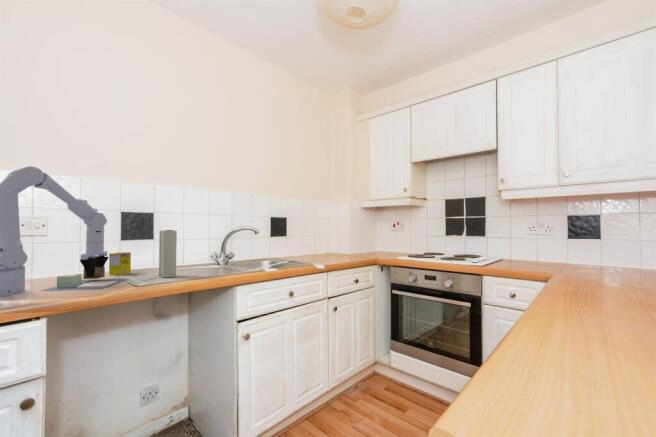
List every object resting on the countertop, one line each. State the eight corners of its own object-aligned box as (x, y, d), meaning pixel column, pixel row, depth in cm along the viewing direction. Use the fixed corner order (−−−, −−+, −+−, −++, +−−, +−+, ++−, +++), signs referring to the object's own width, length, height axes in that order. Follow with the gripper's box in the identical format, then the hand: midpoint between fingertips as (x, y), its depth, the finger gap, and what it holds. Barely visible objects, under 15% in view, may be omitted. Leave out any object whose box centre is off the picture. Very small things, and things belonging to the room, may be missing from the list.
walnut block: (97, 278, 119) (97, 268, 119) (83, 278, 118) (83, 268, 118) (104, 276, 124) (104, 266, 124) (91, 276, 123) (91, 267, 123)
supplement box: (130, 275, 140) (131, 252, 140) (120, 277, 134) (121, 253, 134) (119, 275, 141) (119, 252, 141) (108, 277, 135) (109, 253, 135)
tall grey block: (177, 276, 137) (178, 230, 137) (163, 278, 133) (163, 230, 133) (173, 274, 142) (173, 229, 142) (158, 276, 138) (159, 230, 138)
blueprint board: (101, 292, 106) (102, 287, 106) (40, 294, 102) (40, 289, 102) (130, 280, 126) (130, 277, 126) (79, 282, 123) (79, 278, 123)
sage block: (72, 287, 109) (72, 276, 109) (56, 287, 108) (57, 276, 108) (81, 284, 114) (81, 273, 114) (66, 284, 113) (66, 274, 113)
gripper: (95, 242, 115) (94, 278, 115) (115, 241, 129) (114, 272, 129) (74, 243, 114) (74, 278, 114) (97, 241, 128) (96, 272, 128)
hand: (94, 275), depth 121 cm, fingers closed on walnut block, 5 cm apart
